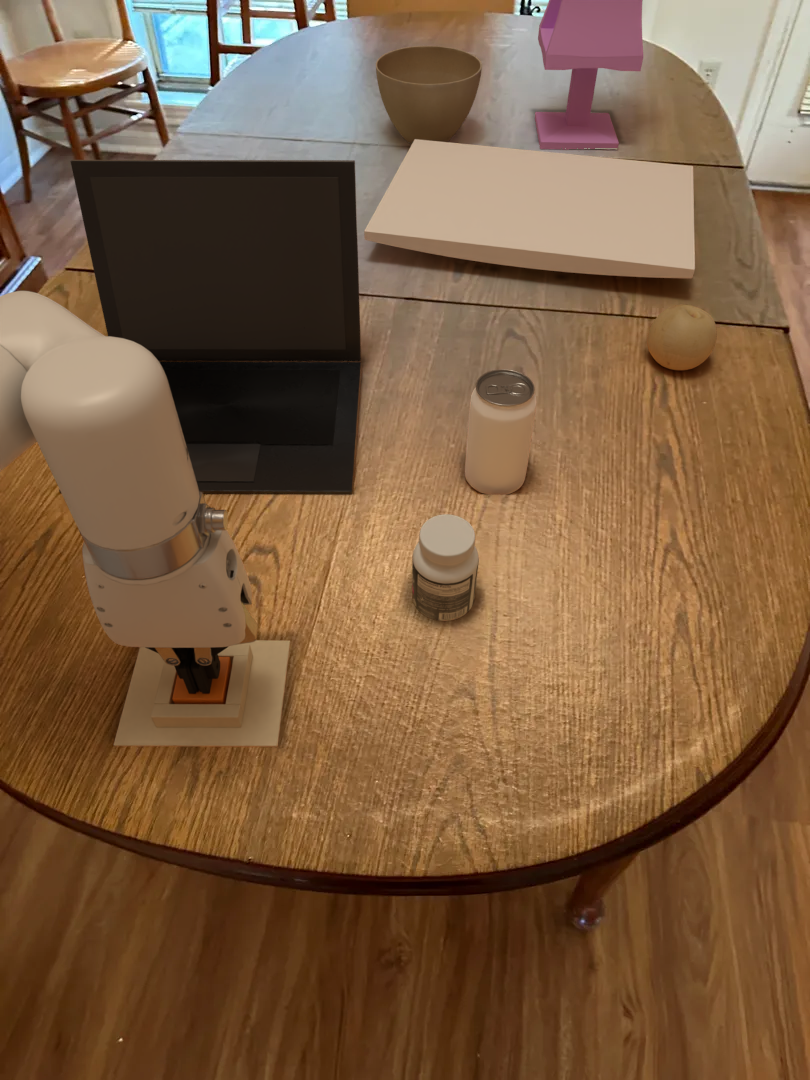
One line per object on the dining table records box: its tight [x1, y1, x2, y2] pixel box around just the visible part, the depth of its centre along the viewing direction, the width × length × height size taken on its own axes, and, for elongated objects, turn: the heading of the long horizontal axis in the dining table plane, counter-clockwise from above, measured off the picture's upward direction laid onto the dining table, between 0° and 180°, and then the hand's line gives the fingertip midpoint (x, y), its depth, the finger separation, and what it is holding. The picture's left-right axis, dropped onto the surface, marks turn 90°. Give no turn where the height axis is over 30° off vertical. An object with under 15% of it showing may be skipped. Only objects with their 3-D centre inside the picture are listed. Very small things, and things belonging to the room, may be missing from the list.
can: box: [464, 368, 537, 496], centre depth 80 cm, size 6×6×12 cm
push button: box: [172, 657, 232, 704], centre depth 64 cm, size 4×4×2 cm
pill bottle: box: [411, 513, 480, 622], centre depth 69 cm, size 6×6×10 cm
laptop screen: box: [70, 159, 362, 362], centre depth 89 cm, size 22×30×1 cm
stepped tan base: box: [113, 639, 291, 748], centre depth 65 cm, size 13×10×3 cm
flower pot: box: [375, 45, 483, 145], centre depth 138 cm, size 18×18×12 cm
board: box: [363, 139, 696, 279], centre depth 119 cm, size 45×32×5 cm
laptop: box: [58, 361, 363, 496], centre depth 88 cm, size 22×30×2 cm
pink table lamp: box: [534, 0, 644, 150], centre depth 130 cm, size 16×16×35 cm
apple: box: [646, 303, 718, 371], centre depth 95 cm, size 8×8×8 cm
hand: (202, 677), depth 64 cm, fingers closed
